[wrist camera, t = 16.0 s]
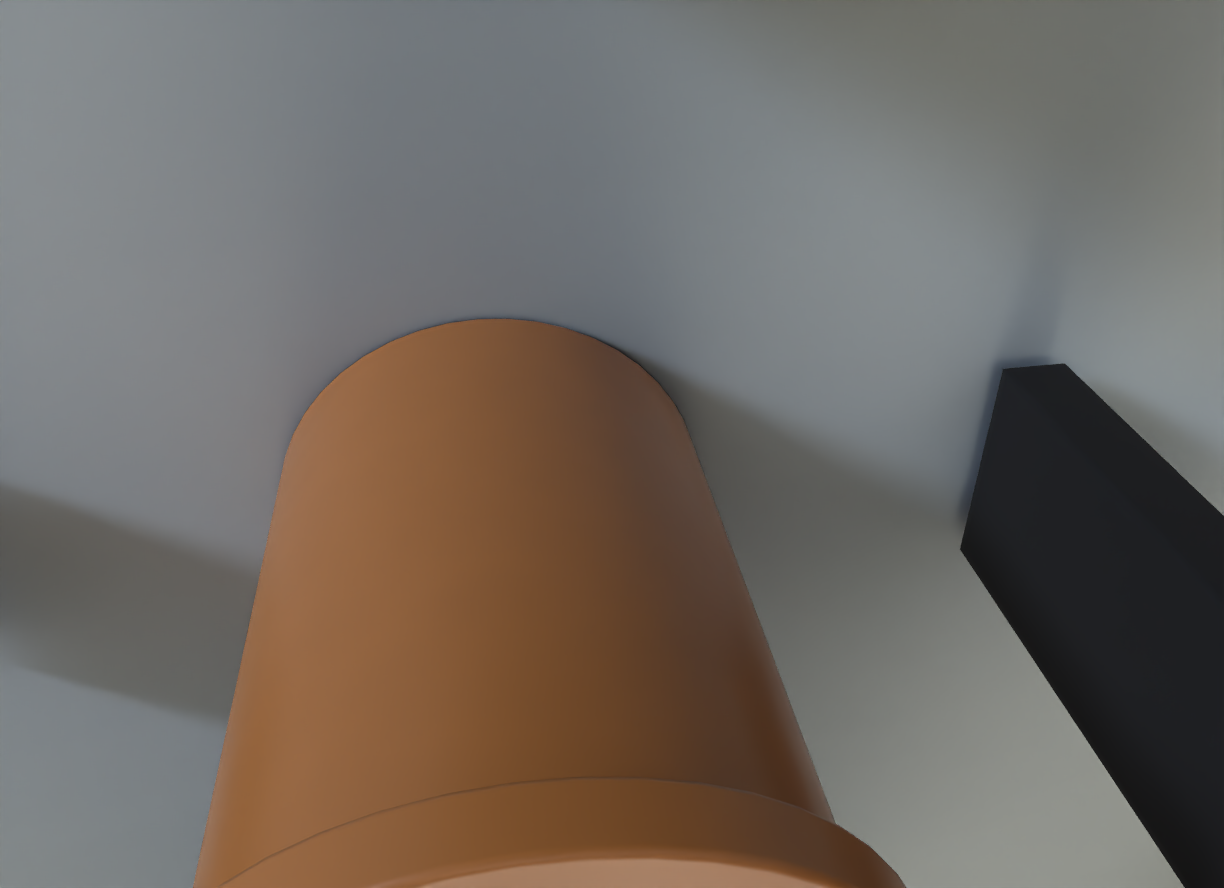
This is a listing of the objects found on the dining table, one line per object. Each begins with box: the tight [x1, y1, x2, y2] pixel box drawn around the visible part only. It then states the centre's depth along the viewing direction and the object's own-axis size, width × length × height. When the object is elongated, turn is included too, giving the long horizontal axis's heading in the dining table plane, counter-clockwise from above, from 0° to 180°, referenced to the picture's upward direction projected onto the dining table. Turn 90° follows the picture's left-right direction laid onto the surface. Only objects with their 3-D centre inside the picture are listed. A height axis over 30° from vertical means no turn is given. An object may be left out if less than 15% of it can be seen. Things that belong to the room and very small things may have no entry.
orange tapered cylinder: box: [193, 319, 906, 888], centre depth 9 cm, size 5×5×6 cm
